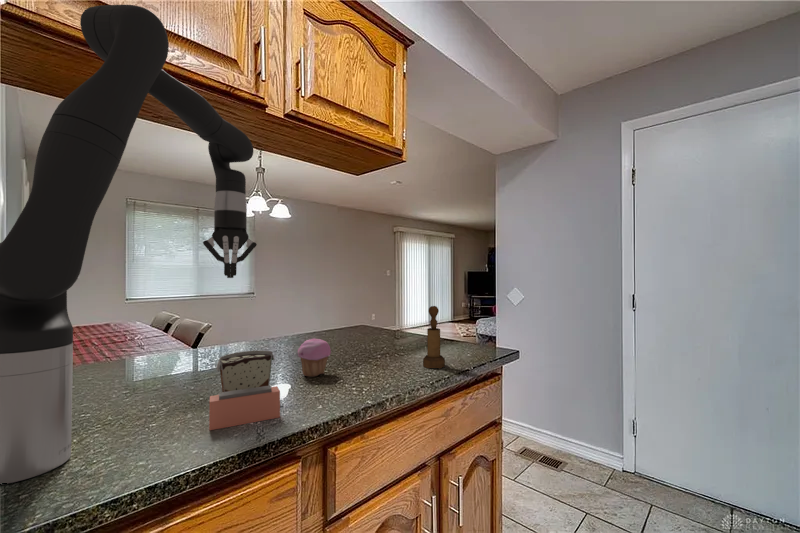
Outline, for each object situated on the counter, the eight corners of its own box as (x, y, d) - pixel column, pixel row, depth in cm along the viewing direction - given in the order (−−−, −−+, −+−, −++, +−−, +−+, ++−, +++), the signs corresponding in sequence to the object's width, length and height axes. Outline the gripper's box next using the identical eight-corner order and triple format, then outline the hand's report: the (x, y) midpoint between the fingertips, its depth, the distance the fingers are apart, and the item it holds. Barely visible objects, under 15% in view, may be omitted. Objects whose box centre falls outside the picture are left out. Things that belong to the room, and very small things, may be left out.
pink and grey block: (209, 430, 62) (209, 398, 62) (209, 423, 65) (209, 392, 65) (279, 417, 67) (280, 388, 68) (277, 411, 70) (277, 383, 71)
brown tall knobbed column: (438, 370, 100) (438, 307, 101) (419, 367, 104) (418, 306, 104) (448, 365, 106) (447, 305, 106) (429, 362, 109) (429, 304, 110)
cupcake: (313, 369, 102) (313, 335, 102) (337, 372, 98) (337, 337, 98) (291, 377, 94) (291, 340, 94) (315, 381, 90) (315, 342, 91)
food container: (261, 389, 84) (261, 347, 85) (274, 394, 80) (274, 351, 80) (206, 403, 75) (206, 357, 75) (218, 410, 71) (218, 361, 71)
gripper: (200, 206, 84) (200, 278, 83) (259, 210, 90) (259, 277, 90) (202, 211, 91) (201, 278, 90) (256, 215, 97) (256, 277, 96)
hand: (230, 277), depth 90 cm, fingers closed
